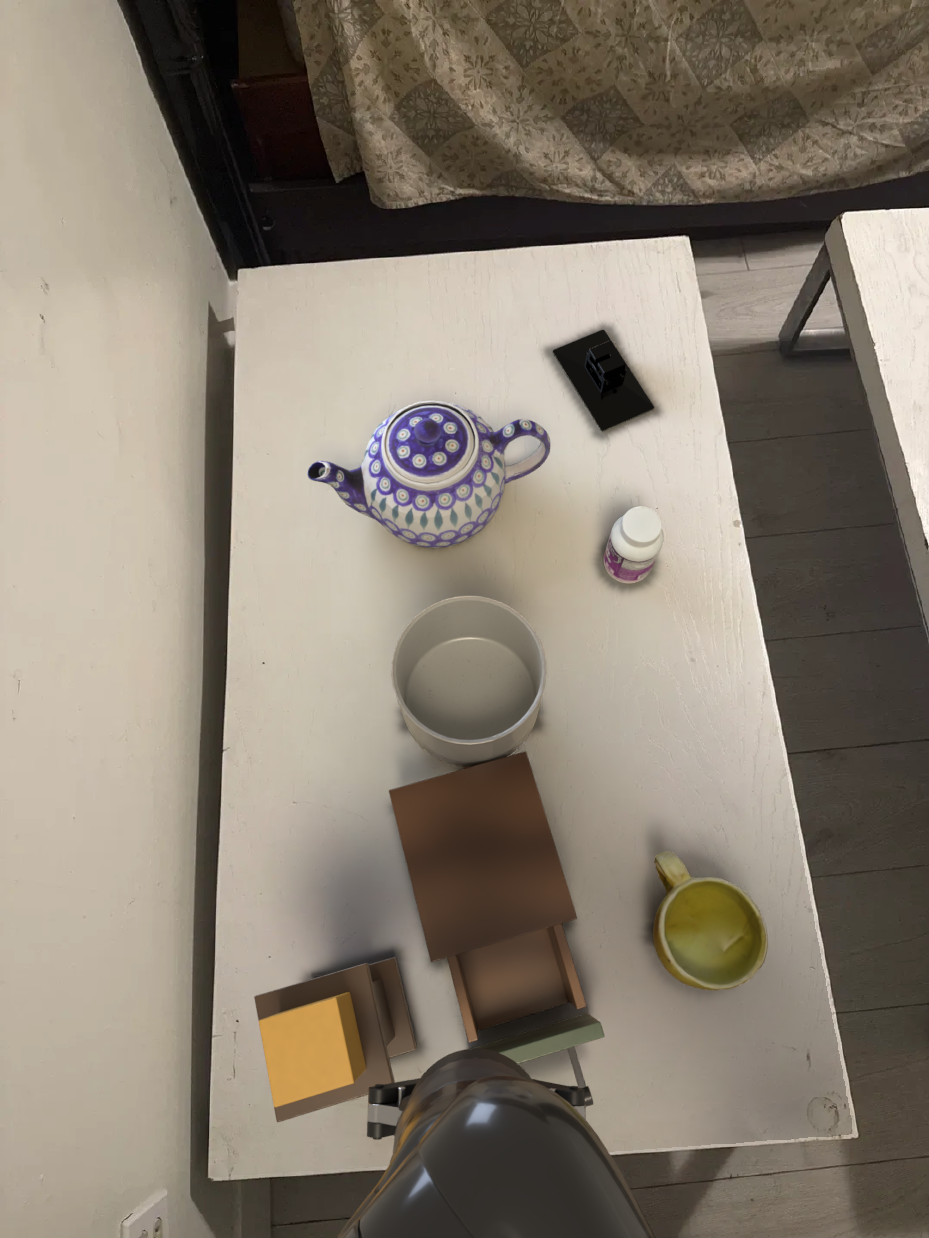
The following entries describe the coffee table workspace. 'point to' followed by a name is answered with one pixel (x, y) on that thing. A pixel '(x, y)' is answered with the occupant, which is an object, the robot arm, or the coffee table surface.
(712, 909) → the mug
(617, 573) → the pill bottle
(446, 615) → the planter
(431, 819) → the cabinet
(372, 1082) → the stand
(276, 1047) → the block
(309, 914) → the coffee table surface
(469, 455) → the teapot
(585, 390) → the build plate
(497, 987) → the drawer
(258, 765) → the coffee table surface
